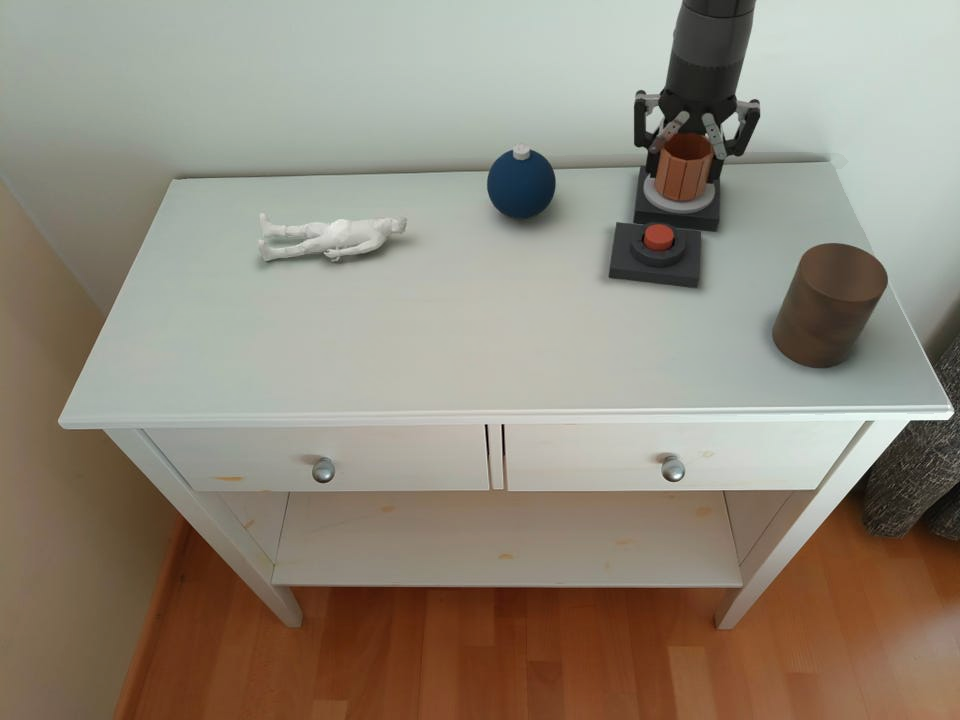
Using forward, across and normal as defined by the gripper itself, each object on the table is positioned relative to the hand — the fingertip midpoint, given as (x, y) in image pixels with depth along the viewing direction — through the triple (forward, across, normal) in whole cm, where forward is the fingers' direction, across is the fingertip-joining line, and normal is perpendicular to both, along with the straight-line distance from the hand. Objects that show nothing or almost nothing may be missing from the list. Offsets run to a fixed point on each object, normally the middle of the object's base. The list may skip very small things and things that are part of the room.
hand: (681, 176), depth 89 cm
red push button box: (+4, -2, -10) cm, 11 cm away
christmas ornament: (+4, -19, -4) cm, 20 cm away
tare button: (+2, -2, -10) cm, 11 cm away
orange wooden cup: (+2, 0, 0) cm, 2 cm away
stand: (+4, +15, -20) cm, 25 cm away
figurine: (+5, -40, -14) cm, 43 cm away
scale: (+4, 0, 0) cm, 4 cm away
